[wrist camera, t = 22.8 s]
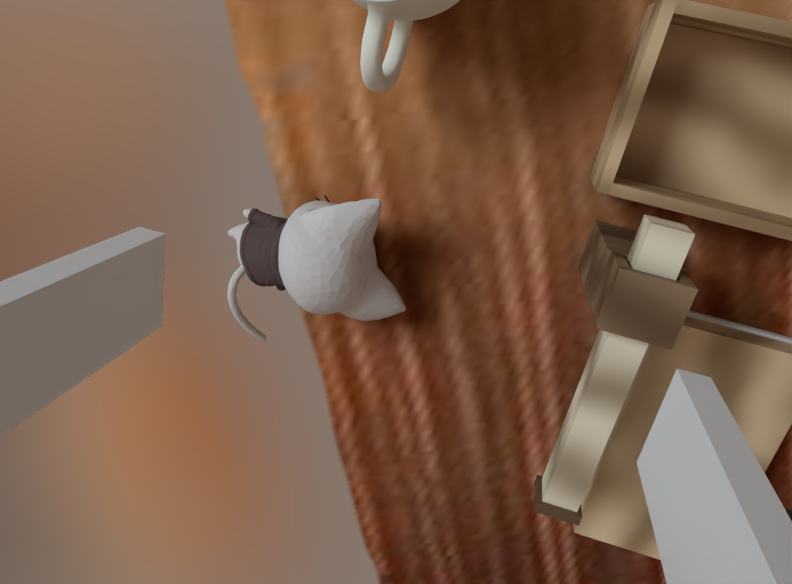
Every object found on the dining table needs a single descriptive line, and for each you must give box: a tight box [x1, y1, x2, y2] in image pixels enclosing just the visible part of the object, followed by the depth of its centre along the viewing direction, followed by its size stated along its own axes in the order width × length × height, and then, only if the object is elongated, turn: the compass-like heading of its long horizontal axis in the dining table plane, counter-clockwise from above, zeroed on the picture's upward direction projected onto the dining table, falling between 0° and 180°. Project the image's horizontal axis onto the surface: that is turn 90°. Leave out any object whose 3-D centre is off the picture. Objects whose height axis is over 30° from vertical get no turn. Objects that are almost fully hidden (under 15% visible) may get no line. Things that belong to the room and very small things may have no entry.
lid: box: [573, 316, 792, 560], centre depth 46 cm, size 12×21×9 cm, turn 168°
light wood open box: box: [579, 0, 792, 350], centre depth 37 cm, size 19×22×12 cm
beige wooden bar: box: [534, 214, 695, 526], centre depth 39 cm, size 22×3×3 cm, turn 168°
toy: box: [228, 195, 406, 342], centre depth 48 cm, size 13×9×15 cm
